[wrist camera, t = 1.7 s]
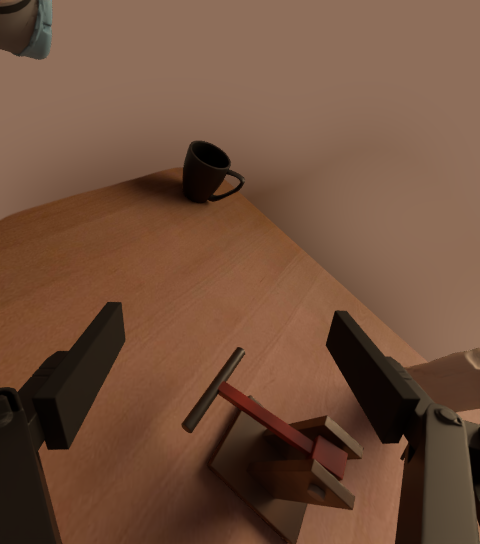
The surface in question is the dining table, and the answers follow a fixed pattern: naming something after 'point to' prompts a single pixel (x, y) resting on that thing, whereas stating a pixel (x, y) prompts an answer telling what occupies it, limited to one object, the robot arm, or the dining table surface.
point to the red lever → (266, 420)
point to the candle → (451, 380)
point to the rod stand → (281, 471)
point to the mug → (206, 172)
